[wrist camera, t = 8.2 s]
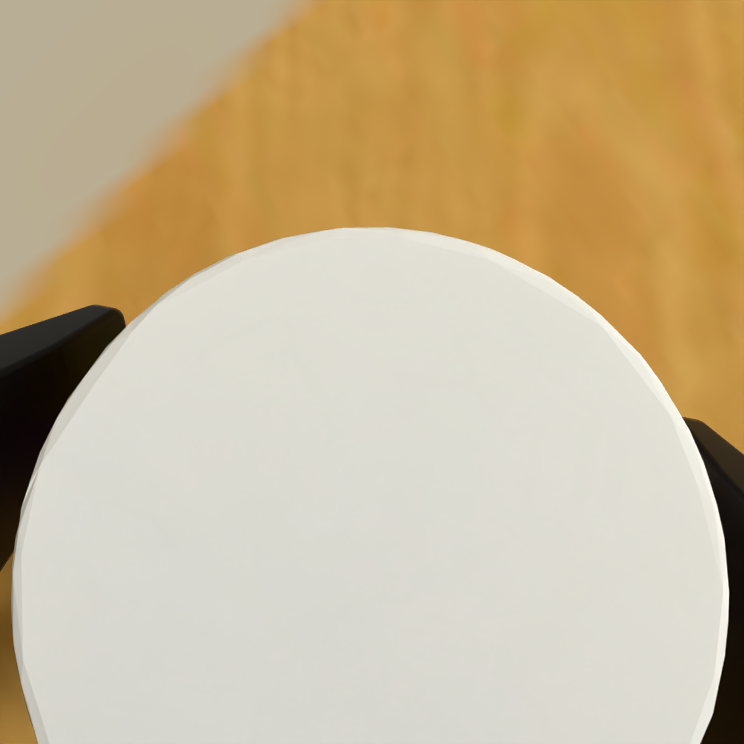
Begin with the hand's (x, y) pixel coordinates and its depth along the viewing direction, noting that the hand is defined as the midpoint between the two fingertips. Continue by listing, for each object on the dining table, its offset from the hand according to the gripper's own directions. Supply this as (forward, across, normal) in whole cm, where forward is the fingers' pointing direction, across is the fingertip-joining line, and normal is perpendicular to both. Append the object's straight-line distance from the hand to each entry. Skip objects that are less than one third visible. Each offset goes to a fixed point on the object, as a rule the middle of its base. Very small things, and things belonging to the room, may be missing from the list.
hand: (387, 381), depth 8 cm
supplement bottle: (+5, 0, +7) cm, 8 cm away
